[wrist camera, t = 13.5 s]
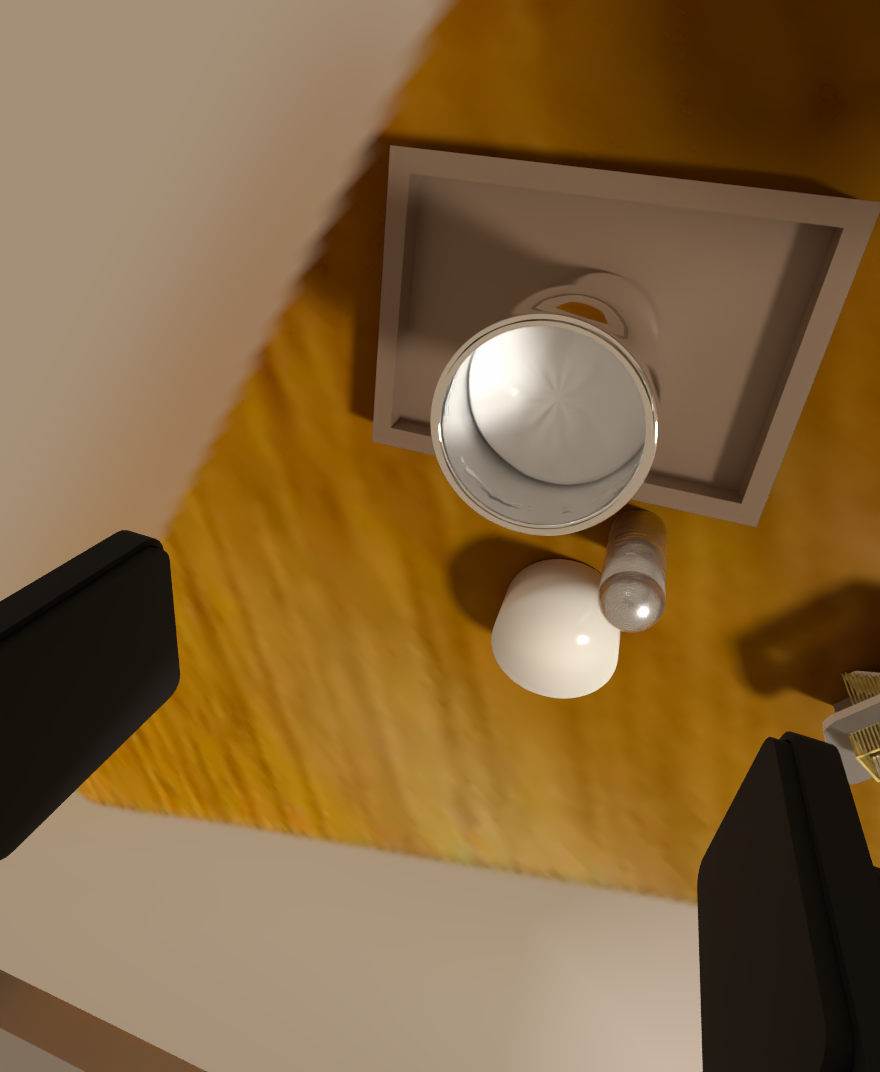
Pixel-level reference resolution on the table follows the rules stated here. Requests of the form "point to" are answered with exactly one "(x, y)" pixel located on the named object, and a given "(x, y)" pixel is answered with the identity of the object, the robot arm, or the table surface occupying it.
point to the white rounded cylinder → (555, 631)
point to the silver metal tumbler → (554, 406)
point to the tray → (655, 268)
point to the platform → (857, 727)
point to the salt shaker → (634, 572)
